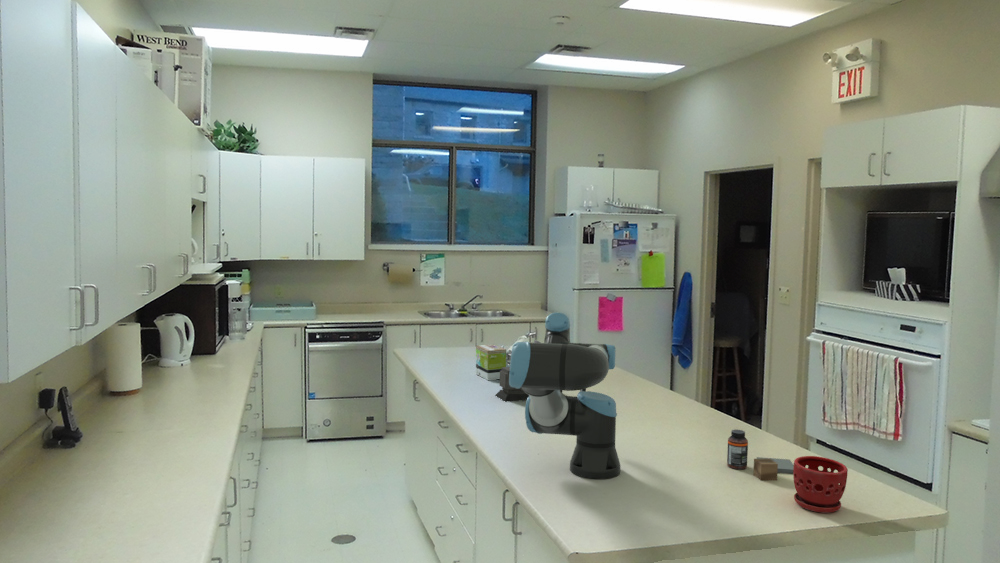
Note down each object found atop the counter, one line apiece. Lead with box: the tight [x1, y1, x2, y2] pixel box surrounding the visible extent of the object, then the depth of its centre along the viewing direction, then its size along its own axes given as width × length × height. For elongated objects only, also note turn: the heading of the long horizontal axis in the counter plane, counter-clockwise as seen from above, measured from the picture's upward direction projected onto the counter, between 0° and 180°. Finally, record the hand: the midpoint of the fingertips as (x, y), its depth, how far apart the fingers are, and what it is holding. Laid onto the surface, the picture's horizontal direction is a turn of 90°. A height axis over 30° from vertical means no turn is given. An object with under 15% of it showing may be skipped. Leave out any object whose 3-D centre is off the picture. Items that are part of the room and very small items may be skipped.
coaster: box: [756, 456, 794, 475], centre depth 225 cm, size 10×10×1 cm
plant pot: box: [792, 455, 849, 514], centre depth 193 cm, size 13×13×12 cm
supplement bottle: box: [726, 429, 749, 470], centre depth 224 cm, size 6×6×11 cm
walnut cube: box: [753, 458, 778, 482], centre depth 216 cm, size 5×5×5 cm
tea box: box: [475, 343, 507, 381], centre depth 350 cm, size 15×10×15 cm, turn 25°
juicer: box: [494, 339, 566, 403], centre depth 312 cm, size 30×16×24 cm, turn 112°
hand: (561, 396), depth 248 cm, fingers open, 13 cm apart
